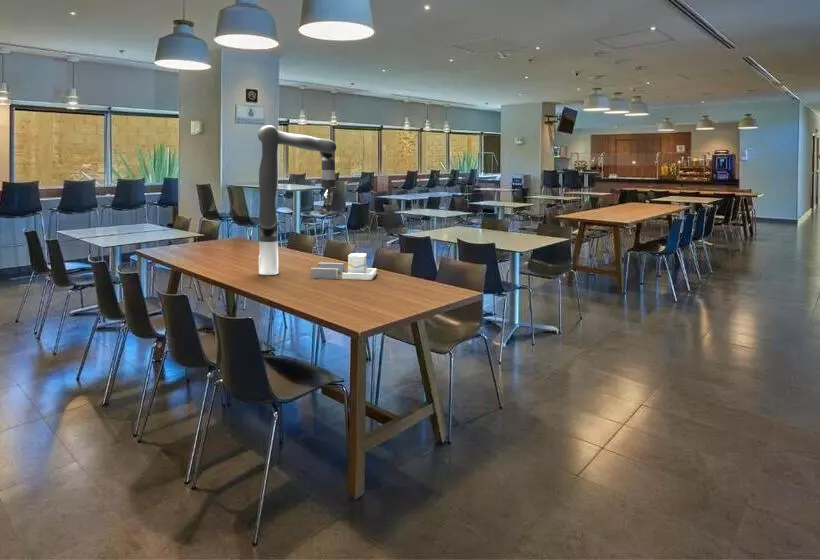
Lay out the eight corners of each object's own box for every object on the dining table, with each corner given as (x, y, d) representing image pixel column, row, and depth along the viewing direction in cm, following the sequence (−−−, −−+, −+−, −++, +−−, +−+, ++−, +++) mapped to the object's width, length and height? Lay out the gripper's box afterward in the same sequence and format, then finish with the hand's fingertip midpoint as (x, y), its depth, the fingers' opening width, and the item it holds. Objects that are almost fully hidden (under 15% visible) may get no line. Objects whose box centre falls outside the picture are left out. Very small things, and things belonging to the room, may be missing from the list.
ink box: (364, 278, 309) (364, 255, 307) (347, 277, 310) (347, 255, 307) (366, 275, 317) (366, 253, 315) (350, 274, 318) (350, 252, 316)
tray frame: (342, 278, 306) (342, 273, 305) (348, 273, 322) (348, 267, 321) (371, 280, 305) (371, 274, 304) (376, 274, 320) (376, 268, 320)
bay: (310, 277, 307) (310, 268, 306) (319, 271, 324) (319, 262, 323) (337, 279, 305) (337, 269, 304) (344, 272, 323) (344, 263, 322)
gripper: (324, 178, 326) (324, 210, 329) (318, 178, 313) (318, 212, 316) (337, 178, 325) (338, 210, 328) (332, 179, 312) (332, 212, 315)
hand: (328, 211), depth 322 cm, fingers closed
